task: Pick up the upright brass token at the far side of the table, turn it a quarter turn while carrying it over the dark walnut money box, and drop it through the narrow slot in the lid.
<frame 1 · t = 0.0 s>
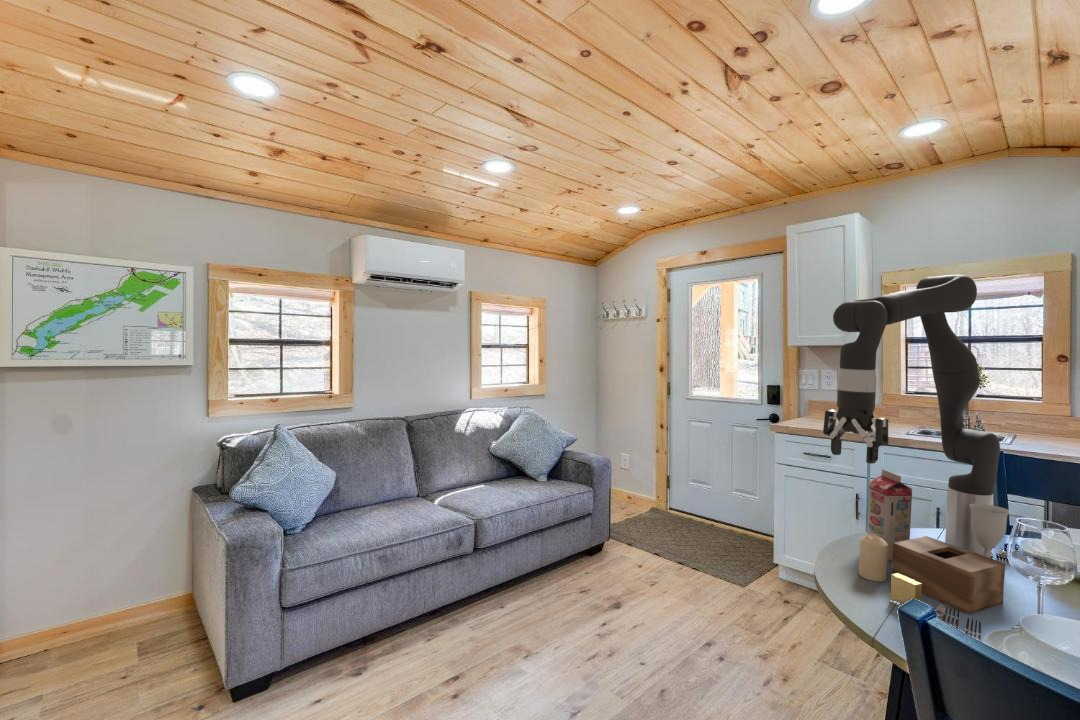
hand: (853, 458, 120), 29 cm above the table, tool pointing down, fingers open, 8 cm apart
chalice: (984, 584, 121), on the table
candle: (872, 577, 124), on the table
juice carton: (886, 555, 137), on the table
brass token: (904, 606, 111), on the table
money box: (944, 591, 117), on the table
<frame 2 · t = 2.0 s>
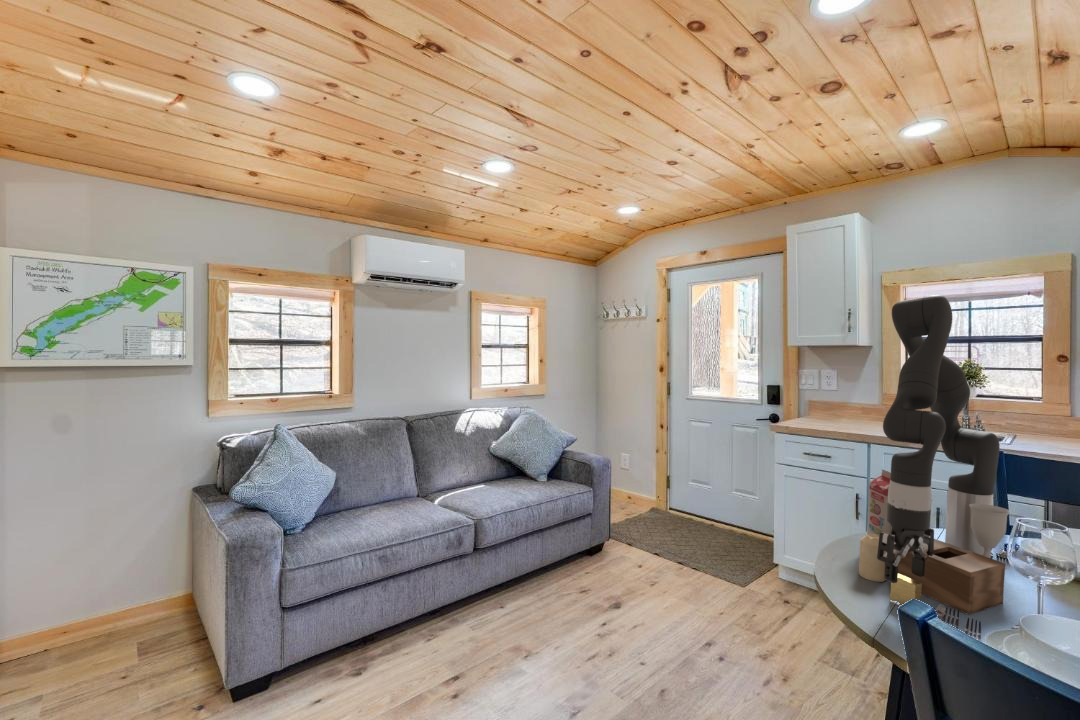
hand: (904, 578, 111), 6 cm above the table, tool pointing down, fingers open, 8 cm apart
nothing on the table moved.
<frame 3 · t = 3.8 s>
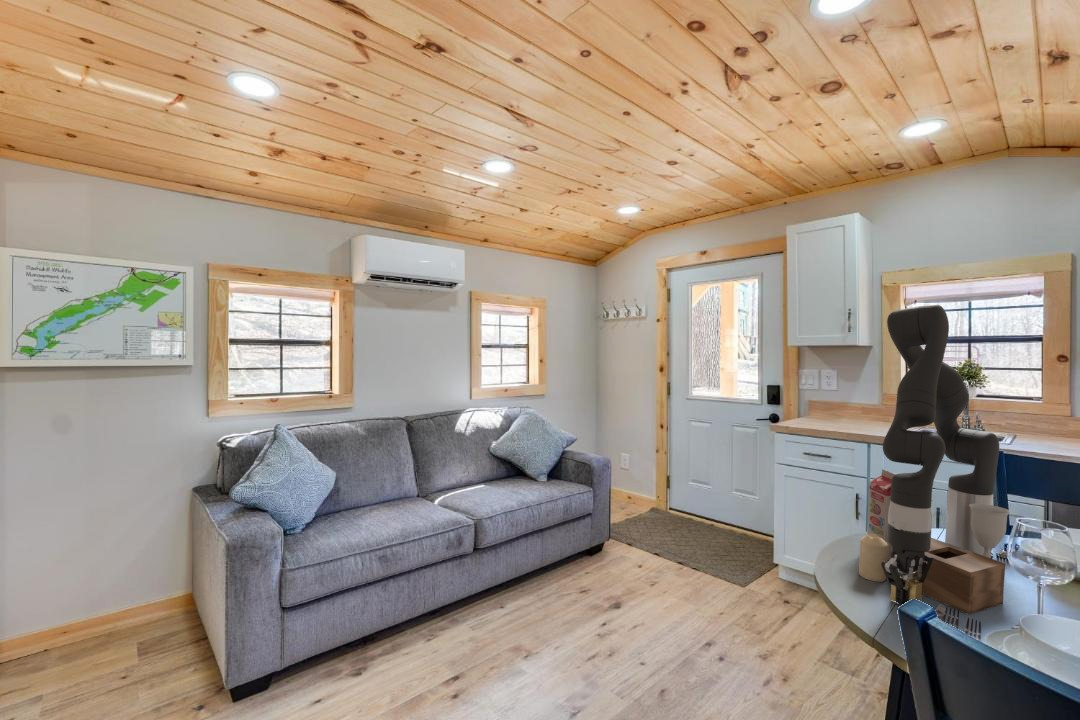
hand: (905, 603, 111), 1 cm above the table, tool pointing down, fingers closed on brass token, 1 cm apart
brass token: (905, 605, 111), on the table, touching gripper
everything else where it was.
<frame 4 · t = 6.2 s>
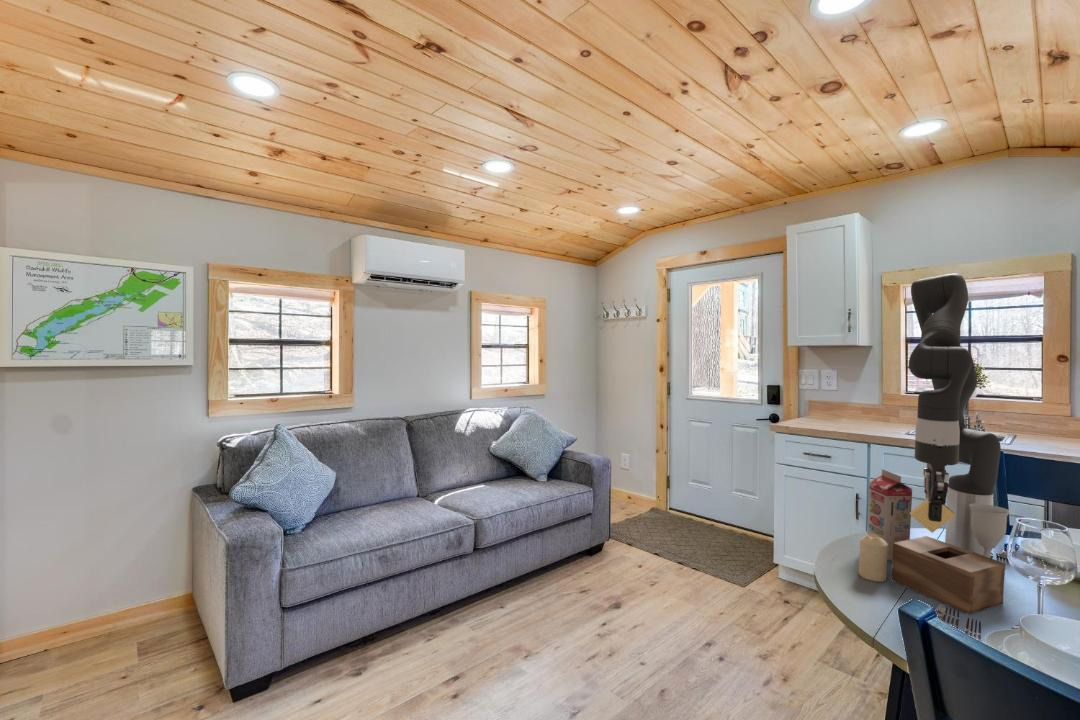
hand: (933, 518, 112), 18 cm above the table, tool pointing down, fingers closed on brass token
brass token: (920, 522, 113), point 17 cm above the table, tilted 39°, touching gripper
everything else where it was.
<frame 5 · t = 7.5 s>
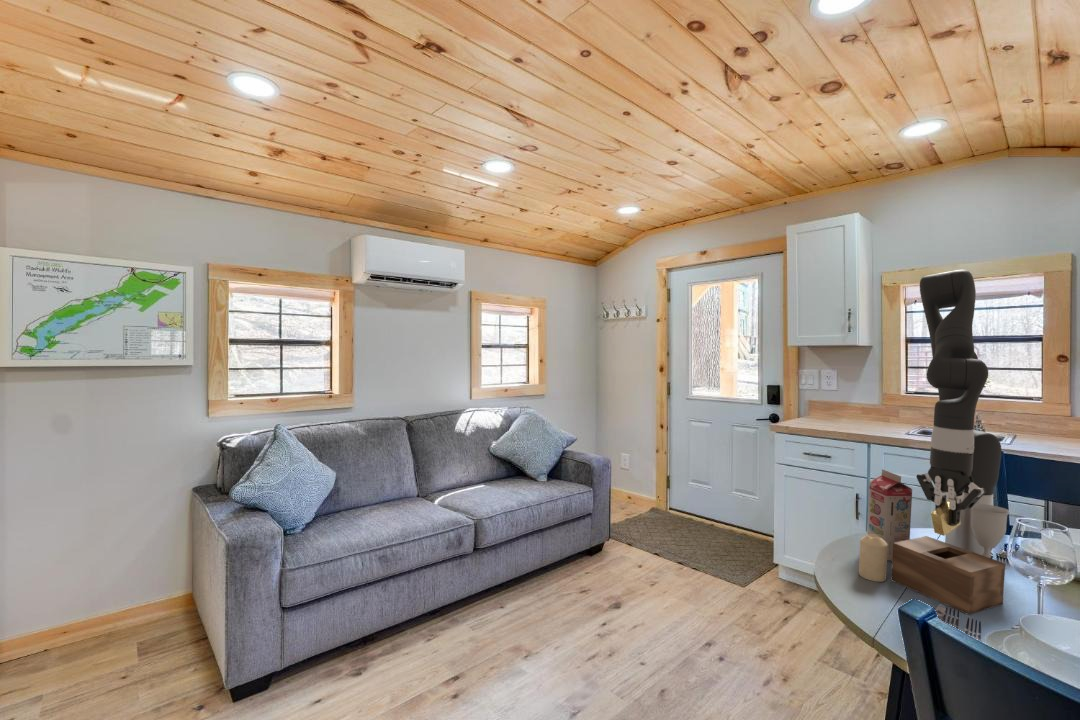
hand: (947, 523, 117), 16 cm above the table, tool pointing down, fingers closed on brass token
brass token: (937, 524, 116), point 16 cm above the table, tilted 71°, touching gripper
everything else where it was.
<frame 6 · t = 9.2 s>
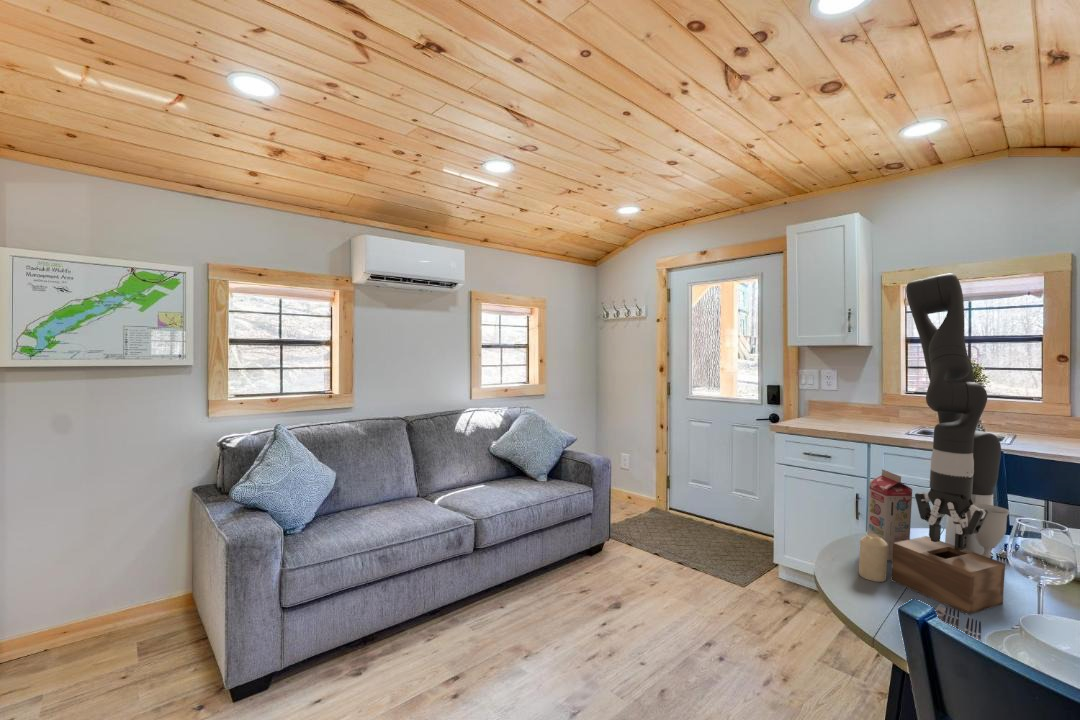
hand: (947, 544, 117), 11 cm above the table, tool pointing down, fingers open, 4 cm apart
brass token: (935, 581, 116), point 3 cm above the table, tilted 88°, touching money box
everything else where it was.
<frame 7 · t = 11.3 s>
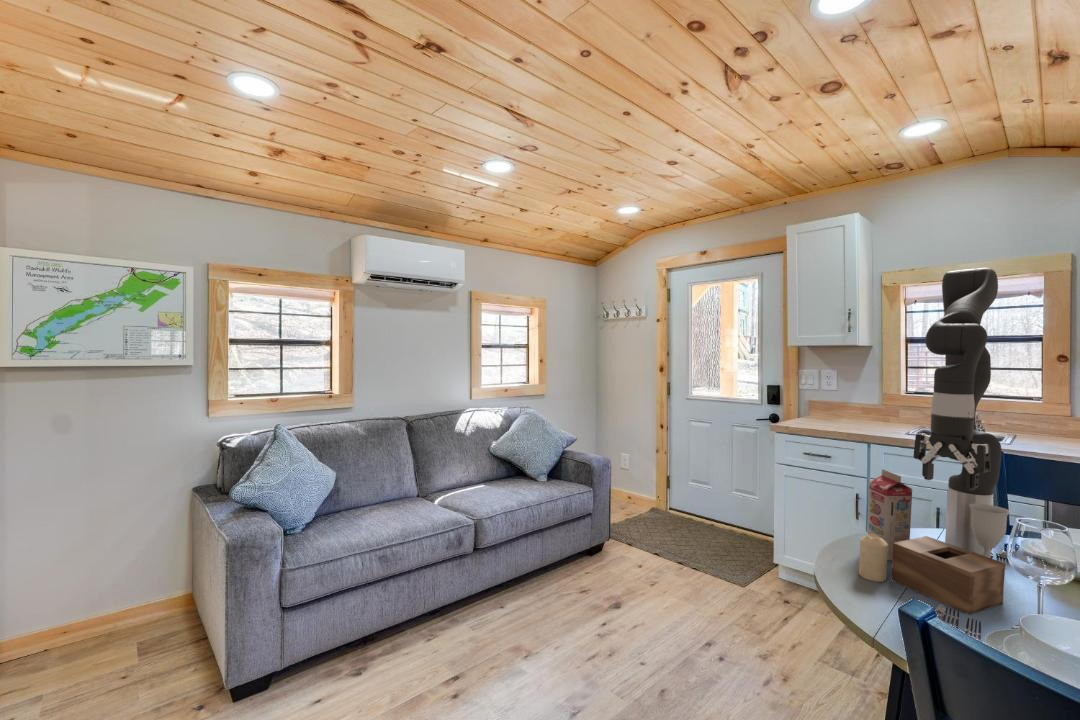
hand: (949, 484, 117), 24 cm above the table, tool pointing down, fingers open, 8 cm apart
nothing on the table moved.
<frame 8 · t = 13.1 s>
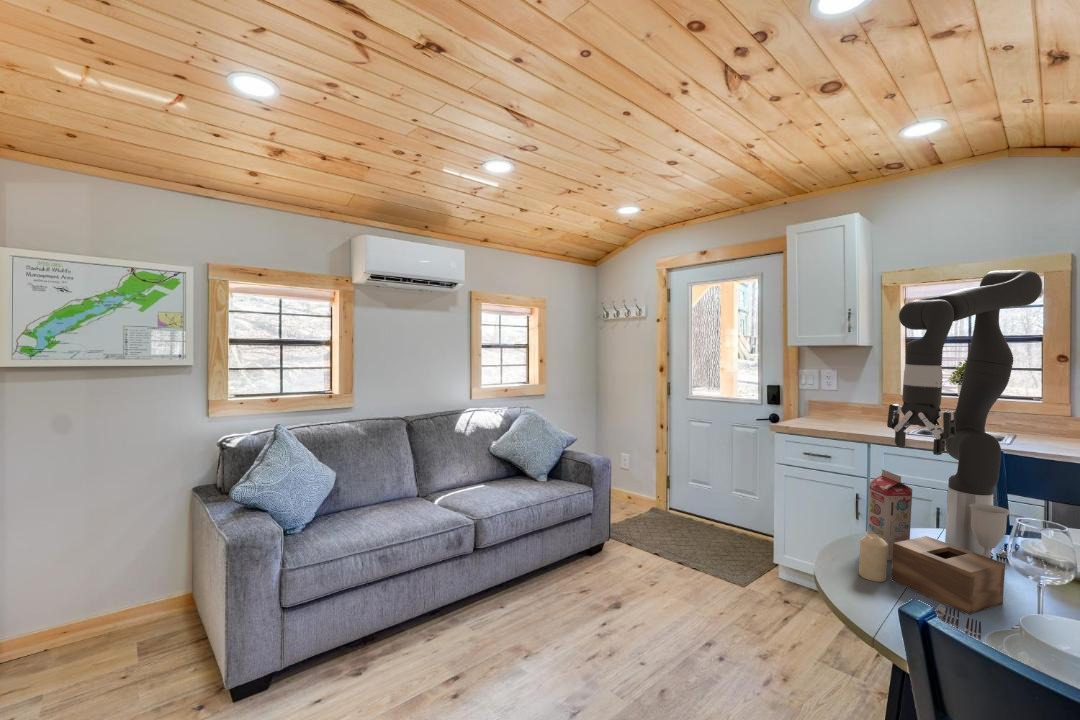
hand: (918, 450, 125), 30 cm above the table, tool pointing down, fingers open, 8 cm apart
nothing on the table moved.
at the end: brass token inside the target area on the money box (3.7 cm from its centre), point 3.1 cm above the money box's base; the gripper is holding nothing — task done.
